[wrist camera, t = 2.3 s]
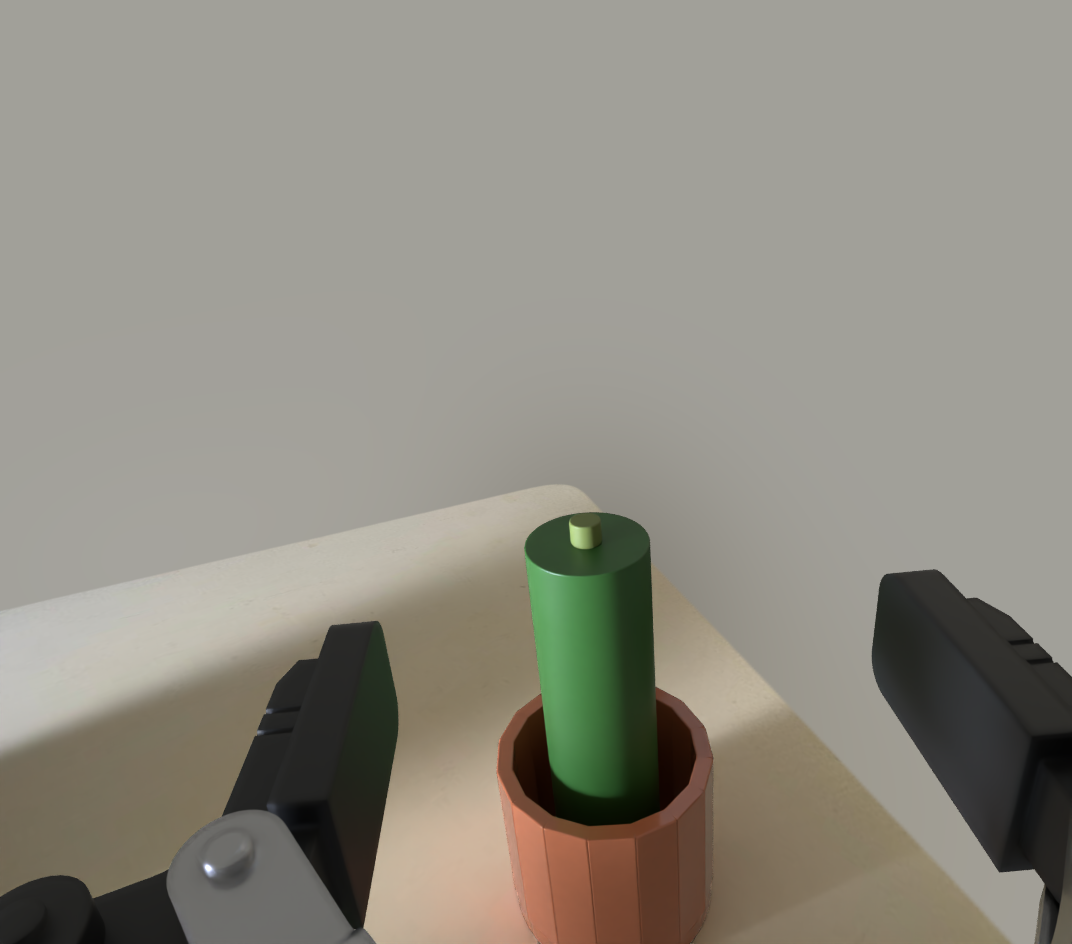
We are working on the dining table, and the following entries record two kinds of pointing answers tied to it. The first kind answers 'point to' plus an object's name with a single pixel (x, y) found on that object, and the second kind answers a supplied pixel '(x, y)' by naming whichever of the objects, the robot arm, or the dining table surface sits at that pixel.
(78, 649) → the dining table surface
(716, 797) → the dining table surface
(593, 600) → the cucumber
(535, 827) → the crock
